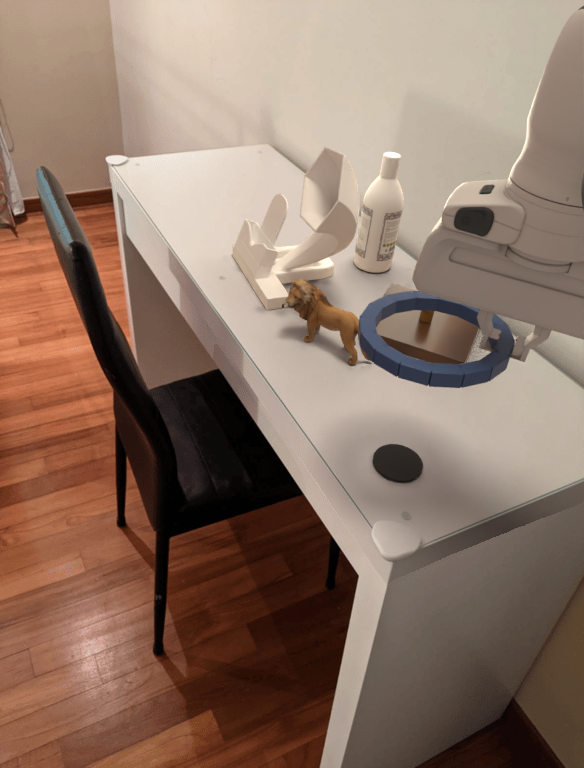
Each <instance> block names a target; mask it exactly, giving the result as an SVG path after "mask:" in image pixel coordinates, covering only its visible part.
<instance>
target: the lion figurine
mask: <svg viewBox="0 0 584 768" xmlns="http://www.w3.org/2000/svg"><path fill="white" fill-rule="evenodd" d="M285 300H286V303H288V307H287V308H288V309H290V310H291V309H293V310H294V311H295V312H296V313H298V314H299V316H298V317H299V318H300V319H301V320H304V321H305V322H306V329H307V334H308V335H304V336H303V341H304V342H305V343H311V342H313V341H314V339H315V334H318V333H319V332H320V329H321V327H322V328H324V329H326V330H328V331H332V332H339V336H340V340H341V342H342V344H343V347H344V348H345V349H346V350H347V351H348V352H349V354H350V356H351V357H348V358H347V364H348V365H351V366H353V365H356V364H357V363H358V360H359V359H358V358H359V357H358V350H357V349H356V347H355V346H356V344H357V343H356V338H357V337H358V338H357V339H359V335H358V326H359V318H358V316H357V315H356V314H355V313H354V312H351V311H347V310H344V309H341V308H339V307H337V306H335V305H333V304H331V302H330V301H329V300H328V298H327V296H326V295H325V293H324V292H323V291H322V290H321V289H319V288H318V286H317V285H316V284H314V283H311V281H310V280H308V281H306V280H302V279H299V280H297V281H296V280H295V281H294V282H293V281H291V283H290V286H289V291H288V297H287V298H286V299H285ZM359 349H360V351H361V354H362V356H363V357H364V358H365V359H366V360H367V361H371V360H370V359H369V357H368V356H367V355H366V354H365V352H364V351H363V350H362V348H361V347H360V346H359ZM371 362H372V361H371Z"/></svg>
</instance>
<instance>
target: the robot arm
mask: <svg viewBox="0 0 584 768" xmlns="http://www.w3.org/2000/svg"><path fill="white" fill-rule="evenodd" d="M536 88H537V89H536V92H535V94H534V97H533V100H532V103H531V105H530V109H529V113H528V115H527V120H526V136H525V141H524V144H523V147H522V150H521V153H520V155H519V156H518V157H517V158H516V161H515V162H514V164H513V165H512V167H511V169H510V172H509V175H508V178H501V179H490V180H489V179H488V180H487V179H486V180H473V181H465V182H463V183H461V184H460V185H458V186H457V187H456V188H455V189H454V190H453V191H452V192H451V194H450V195H449V197H448V198H447V200H446V202H445V204H444V206H443V210H442V214H441V217H440V219H439V220H438V221H437V223H436V224H435V225H434V227H433V228H432V230H431V231H430V233H429V234H428V236H427V238H426V240H425V242H424V243H423V245H422V247H421V250H420V252H419V255H418V258H417V260H416V264H415V266H414V270H413V273H412V278H411V280H412V283H413V285H414V287H415V288H416V289H415V290H417V291H420V292H423V293H427V294H430V295H434V296H437V297H440V298H444V299H447V300H451V301H454V302H457V303H461V304H464V305H467V306H471V307H474V308H478V309H479V312H478V315H477V320H478V323H479V326H480V329H479V330H480V332H481V335H482V337H481V341H480V343H479V346H478V349H481V350H484V351H487V352H489V353H491V352H492V351H494V349H495V347H496V345H497V342H498V339H499V336H500V333H501V330H498V329H495V328H493V324H492V318H493V315H494V313H495V314H496V315H497V316H501V317H506V318H509V319H512V320H516V321H519V322H523V323H525V324H528V325H532V326H534V330H533V331H532V332H531V333H529V334H528V335H527V336H526V337H524V336H521V335H516V338H515V339H514V340H515V343H514V346H513V349H512V352H511V356H510V359H512V360H515V361H516V360H517V361H520V362H523V363H525V362H526V360H527V358H528V355H529V353H530V350H533V349H534V348H536V347H538V346H539V345H540V344H543V343H544V342H546V341H547V340H548V339H549V337H550V335H551V334H552V332H556V333H559V334H562V335H566V336H570V337H573V338H576V339H580V340H582V341H584V5H582V6H581V7H579V8H578V9H577V10H576V11H574V12H573V13H572V14H571V15H570V17H568V19H567V21H566V22H565V24H564V25H563V27H562V29H561V31H560V33H559V34H558V37H557V39H556V41H555V43H554V46H553V48H552V49H551V52H550V55H549V57H548V60H547V61H546V64H545V67H544V70H543V73H542V75H541V77H540V80H539V83H538V86H537V87H536Z"/></svg>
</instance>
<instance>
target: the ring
mask: <svg viewBox="0 0 584 768" xmlns="http://www.w3.org/2000/svg"><path fill="white" fill-rule="evenodd" d="M412 310H423V311H437V312H441V313H445V314H449V315H453V316H457V317H459V318H461V319H463V320H466V321H468V322H470V323H472V324H474V325H476V326H477V327H478V328H479V330H481V329H480V326H479V323H478V320H477V315H478V312H479V309H478V308H474V307H471V306H467V305H464V304H461V303H457V302H454V301H451V300H447V299H444V298H440V297H437V296H434V295H430V294H427V293H423V292H420V291H418V290H417V291H406V292H399V293H393V294H388V295H385V296H384V295H382V296H381V297H380V298H377V299H375V300H373V301H372V302H369V303H368V304H367V306H366V307H365V308H364V310H363V311H362V313H361V314H360V316H359V318H358V319H359V326H358V334H357V336H358V335H359V340H358V345H359V348H360V347H361V348H362V350H363V351H364V352H365V354H366V355H367V356H368V357H369V359H370V360H371V363H373V364H374V365H375V366H378V367H379V368H380V369H382V370H384V371H385V372H387V373H389V374H391V375H393V376H394V377H398V378H399V379H401V380H404V381H407V382H412V383H415V384H419V385H423V386H424V387H425V386H426V387H430V388H449V389H461V388H462V389H464V388H469V387H472V386H477V385H481V384H485V383H489V382H491V381H492V380H494V379H495V378H496V377H498V376H499V375H501V374H502V373H503V372H505V371H506V370H507V369H508V365H509V362H510V359H511V358H510V356H511V352H512V349H513V346H514V343H515V340H516V339H515V337H514V335H513V333H512V331H511V329H510V326H509V324H508V323H507V322H506V321H505V320H503V319H502V318H501V317H500V316H499V315H498V314H495V313H494V315H493V318H492V324H493V328H495V329H498V330H501V333H500V336H499V339H498V342H497V345H496V347H495V349H494V351H492V352H489V353H488V354H486V355H485V356H483V357H482V358H480V359H477V360H473V361H468V362H467V361H466V363H463V364H442V363H430V362H426V361H423V360H419V359H416V358H413V357H410V356H407V355H404V354H403V353H401V352H399V351H397V350H395V349H394V348H392V347H390V346H388V345H387V344H386V342H385V341H384V340H383V339H382V338H381V336H380V335H379V334H378V333H377V330H376V327H377V326H378V324H379V323H380V321H382V320H384V319H385V318H387V317H389V316H391V315H393V314H395V313H401V312H407V311H412ZM361 348H360V349H361ZM370 360H369V361H370Z"/></svg>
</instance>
